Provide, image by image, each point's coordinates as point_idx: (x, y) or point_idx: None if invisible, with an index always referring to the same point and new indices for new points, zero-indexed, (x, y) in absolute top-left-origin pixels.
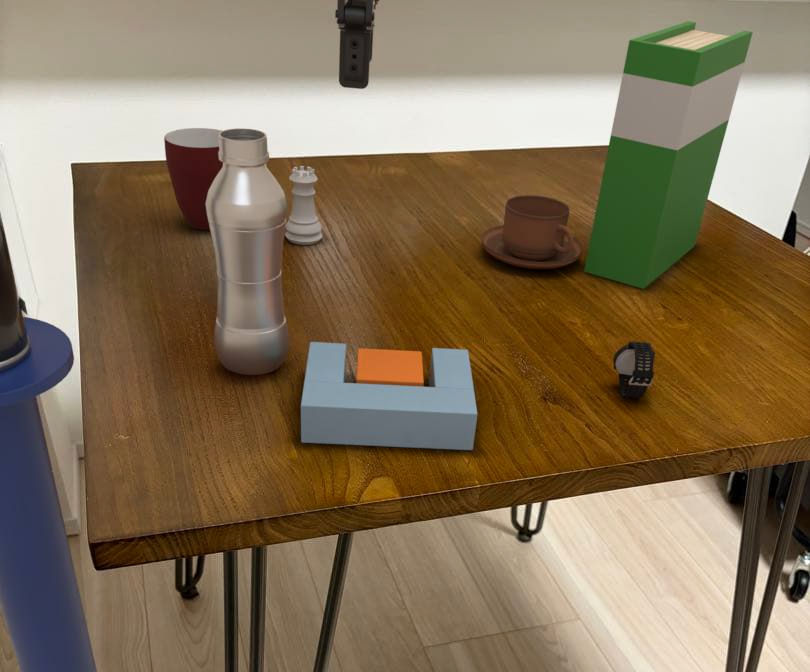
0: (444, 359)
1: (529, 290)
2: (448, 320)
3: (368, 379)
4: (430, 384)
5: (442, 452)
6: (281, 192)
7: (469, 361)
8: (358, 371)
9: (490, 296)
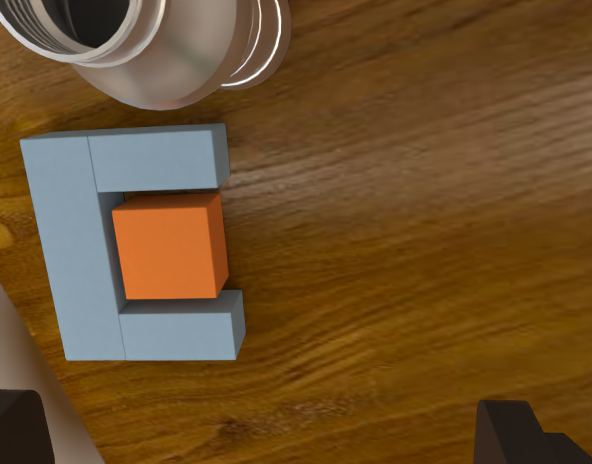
0: (198, 328)
1: None
2: (449, 320)
3: (114, 226)
4: None
5: None
6: (139, 99)
7: (200, 359)
8: (133, 211)
9: (549, 387)
